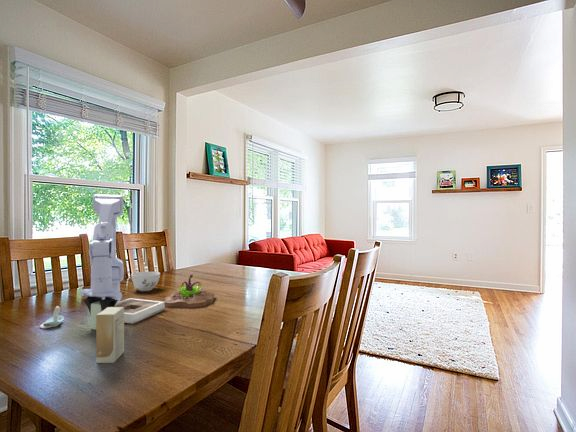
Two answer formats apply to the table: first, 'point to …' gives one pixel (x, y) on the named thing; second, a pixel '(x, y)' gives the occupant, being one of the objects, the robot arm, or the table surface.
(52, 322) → the pacifier
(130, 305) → the hole plate
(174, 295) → the plant
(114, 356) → the skincare box
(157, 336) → the table surface
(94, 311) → the peg
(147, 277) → the teacup
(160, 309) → the tray
